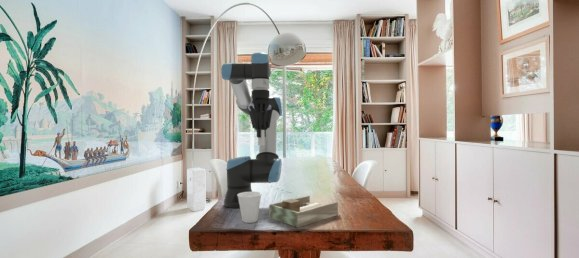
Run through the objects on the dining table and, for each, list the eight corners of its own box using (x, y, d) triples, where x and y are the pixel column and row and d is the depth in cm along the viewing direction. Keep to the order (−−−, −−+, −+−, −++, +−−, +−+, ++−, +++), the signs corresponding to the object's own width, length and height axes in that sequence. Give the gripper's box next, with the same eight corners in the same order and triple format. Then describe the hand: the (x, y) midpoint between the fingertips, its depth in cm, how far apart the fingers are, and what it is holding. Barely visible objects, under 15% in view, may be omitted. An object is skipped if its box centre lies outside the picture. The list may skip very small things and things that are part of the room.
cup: (258, 225, 123) (257, 197, 123) (233, 224, 125) (233, 196, 125) (265, 217, 133) (264, 191, 133) (242, 216, 135) (242, 191, 135)
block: (282, 212, 130) (282, 200, 129) (291, 210, 133) (291, 198, 133) (290, 215, 126) (290, 202, 126) (299, 212, 129) (299, 200, 129)
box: (269, 217, 133) (269, 204, 133) (308, 207, 149) (308, 195, 149) (298, 227, 120) (298, 213, 120) (337, 214, 136) (337, 202, 136)
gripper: (253, 88, 128) (254, 146, 129) (277, 90, 137) (278, 144, 137) (242, 89, 134) (243, 145, 134) (267, 91, 143) (267, 144, 143)
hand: (261, 145), depth 136 cm, fingers closed
